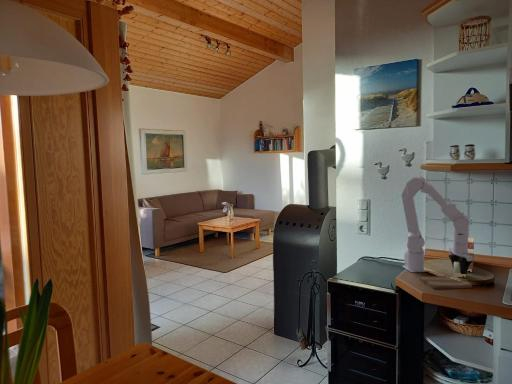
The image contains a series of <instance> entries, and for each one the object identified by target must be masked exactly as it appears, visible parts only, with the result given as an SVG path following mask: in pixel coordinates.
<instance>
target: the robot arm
mask: <svg viewBox="0 0 512 384" xmlns="http://www.w3.org/2000/svg"><path fill="white" fill-rule="evenodd" d="M419 191H420V193H424V194H428V196H429V197H431V198H432V200H434V201H435V202H436V203H437V204H438V206H440V212H442V214H443V215H445V217H446V218H447V219H448V220H449V221H450V222H451V223H452V224H453V225H452V226H453V227H454V232H453V245H452V246H453V247H452V248H448V253H449V254H448V257H449V259H450V262H451V266H452V269H453V271H454V261H459V264H460V272H461V274H466V275H467V273H468V272H467V270H468V268H469V266H470V264H471V263H472V261H473V262H474V260H473V257H472V256H471V255H470V252H468V237H469V224H470V220H469V218H468V216H467V215H465V214H464V212H461V210H460V209H459V208H458V207H457V204H456V203H452V201H451V202H450V201H446V199H445V198H444V197H443V196H442V194H440V193H439V192H438V190H437V189H436V188H435V187H434V186H433V185H432V184H431V183H430V182H429V181H428V180H426V178H424V177H423V176H421V175H418V176H414V177H411V178H410V179H409V180H408V181H407V182H406V183H405V186H404V188H403V191H402V192H401V200H402V205H403V209H404V210H403V211H404V215H405V221H406V227H407V245H406V246H407V250H406V251H405V252H404V261H403V262H404V263H403V264H404V265H402V267H403V268H404V269H405V270H407V271H408V272H410V273H425V272H427V273H428V270H427V269H426V270H427V271H426V270H424V269H425V250H424V248H423V247H424V246H425V243H426V241H425V239H424V237H422V233H421V231H420V226H419V221H418V214H417V210H416V205H415V200H414V197H416V194H417V193H418V192H419ZM461 258H462V259H461Z"/></svg>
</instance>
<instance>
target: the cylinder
mask: <svg viewBox="0 0 512 384" xmlns="http://www.w3.org/2000/svg"><path fill="white" fill-rule="evenodd" d="M454 273H461V272H460V264H459V261H454V270H453V274H454Z"/></svg>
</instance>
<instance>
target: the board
mask: <svg viewBox="0 0 512 384" xmlns="http://www.w3.org/2000/svg"><path fill="white" fill-rule="evenodd" d="M446 276H447V275H436V276H434V275H433V276H420V277H419V281H421V282H423V283H424V284H426V285H427V286H429V287H430V288H432V289H434V290H443V289H444V290H445V289H464V288H466V289H467V288H468V289H469V288H473V284H472V283H471V282H469V281H467V280H465V281H464V282H463V281H462V282H461V281H457V280H454V279H451V278H449V277H446Z"/></svg>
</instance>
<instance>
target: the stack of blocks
mask: <svg viewBox="0 0 512 384" xmlns="http://www.w3.org/2000/svg"><path fill="white" fill-rule="evenodd" d="M474 246H475V239H474V237H469V236H468V252H470V255H471V256H472V257H473V261H472V263H471V264H470V266H469V268H468V269H473V270H474V257H475V253H474V252H475V249H474V248H475V247H474ZM461 259H462V258H461Z"/></svg>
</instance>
